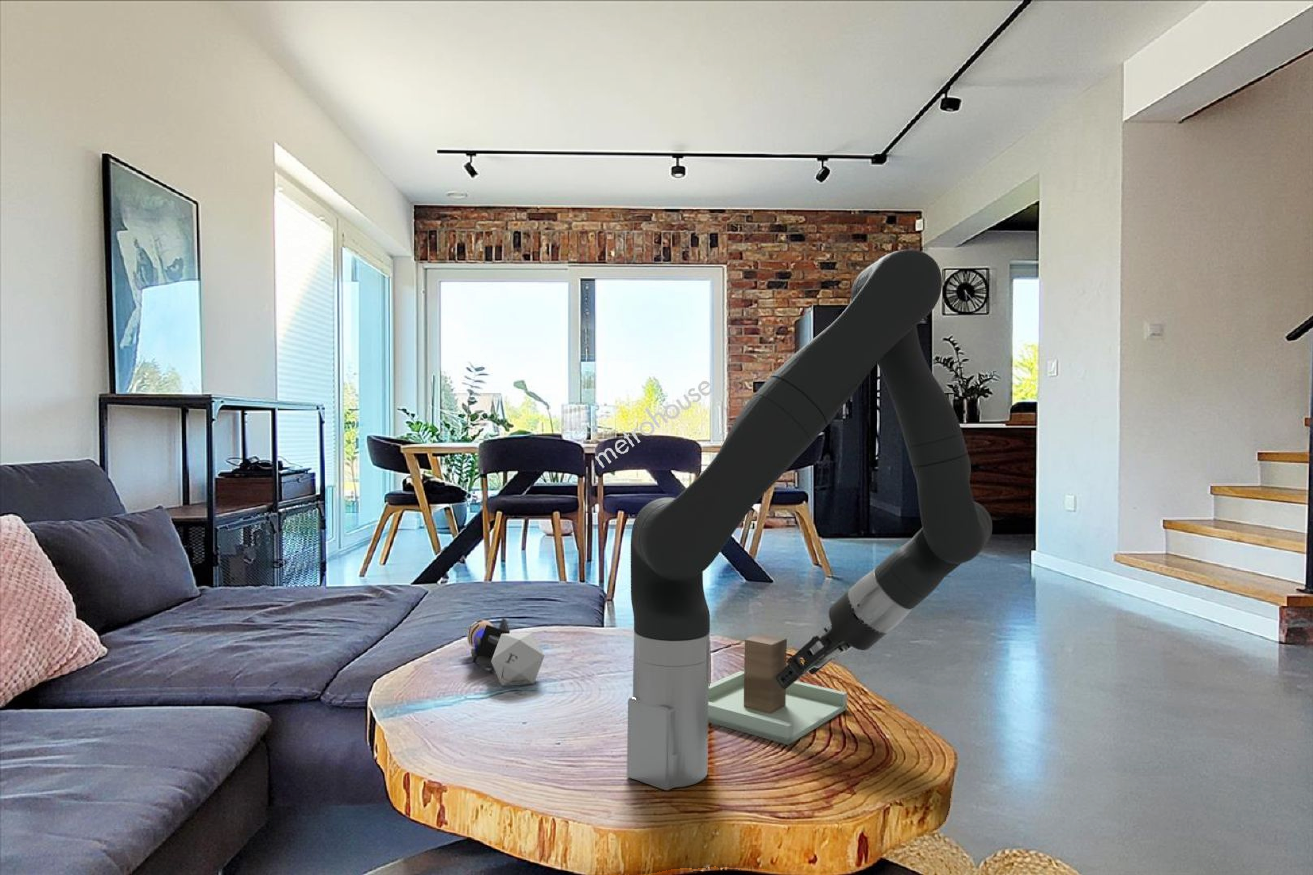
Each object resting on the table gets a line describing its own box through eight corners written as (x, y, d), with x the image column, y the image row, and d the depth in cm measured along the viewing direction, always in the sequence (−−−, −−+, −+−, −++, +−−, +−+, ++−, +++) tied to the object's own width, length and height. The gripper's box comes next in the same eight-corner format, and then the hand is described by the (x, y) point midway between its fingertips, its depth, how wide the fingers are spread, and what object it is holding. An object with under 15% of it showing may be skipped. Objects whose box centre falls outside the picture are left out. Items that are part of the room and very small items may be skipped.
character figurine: (469, 679, 137) (468, 654, 151) (513, 673, 138) (508, 649, 153) (466, 632, 136) (465, 612, 151) (510, 627, 138) (505, 607, 153)
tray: (788, 744, 110) (788, 726, 110) (679, 714, 121) (679, 697, 121) (846, 709, 124) (847, 692, 124) (744, 684, 135) (744, 669, 135)
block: (770, 713, 119) (771, 644, 119) (743, 706, 122) (744, 639, 122) (785, 705, 123) (786, 638, 123) (759, 699, 125) (760, 633, 125)
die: (479, 684, 135) (482, 647, 129) (508, 647, 142) (512, 611, 136) (522, 707, 133) (527, 670, 127) (550, 669, 140) (555, 632, 134)
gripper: (873, 578, 120) (800, 644, 127) (830, 594, 108) (753, 665, 115) (908, 620, 116) (832, 685, 124) (868, 641, 105) (787, 711, 112)
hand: (794, 675), depth 119 cm, fingers open, 8 cm apart
